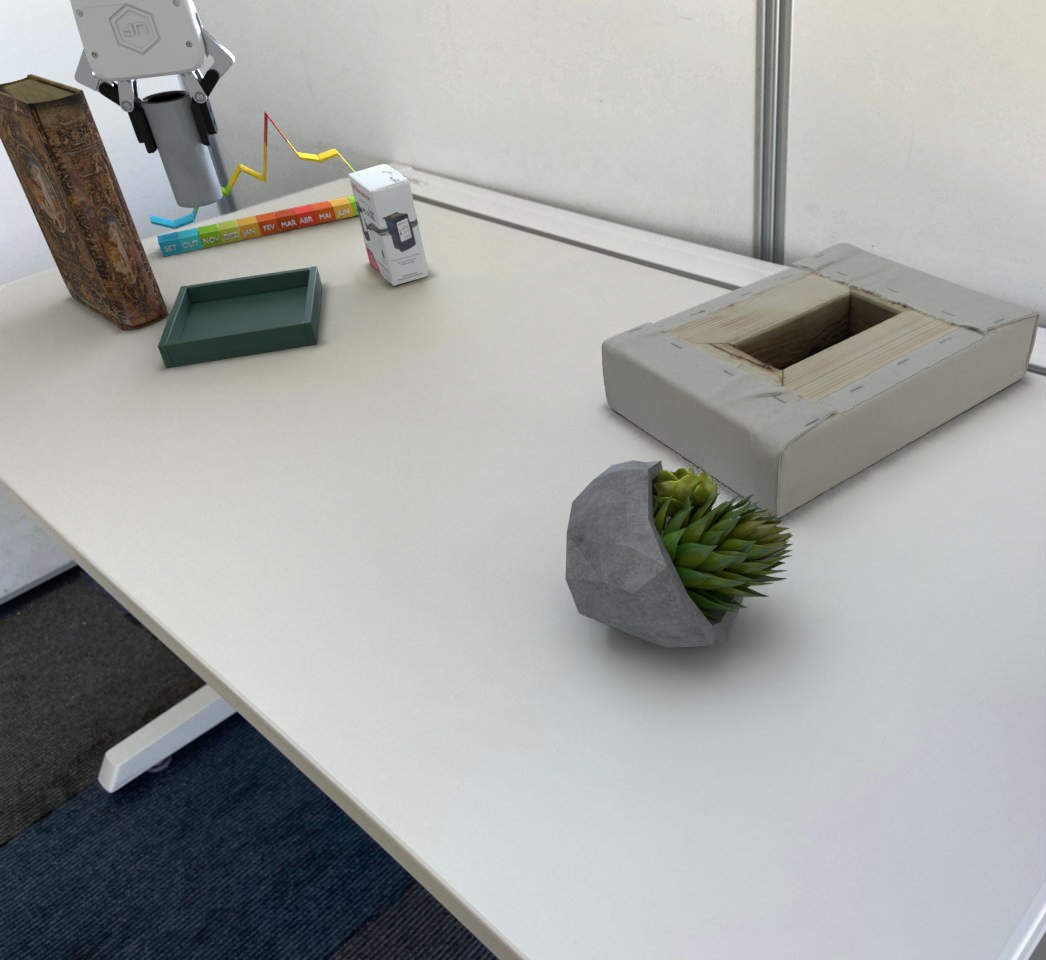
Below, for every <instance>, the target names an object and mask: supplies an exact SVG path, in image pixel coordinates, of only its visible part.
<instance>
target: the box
mask: <svg viewBox="0 0 1046 960" xmlns="http://www.w3.org/2000/svg"><path fill="white" fill-rule="evenodd" d="M1040 317H1041V315H1040V313H1039V312H1038V311H1037V310H1035V309H1032V308H1030V307H1027V306H1022V305H1018V304H1017V303H1013V302H1008V301H1005V300H1002V299H1000V298H997V297H995V296H991V295H988V294H986V293H983V292H980V291H977V290H974V289H972V288H968V287H966V286H963V285H961V284H957V283H955V282H952V281H949V280H947V279H944V278H941V277H938V276H935V275H933V274H930V273H927V272H924V271H921V270H919V269H917V268H914V267H911V266H908V265H905V264H903V263H901V262H900V263H899V262H897V261H894V260H892V259H889V258H886V257H883V256H881V255H877V254H874V253H872V252H870V251H866V250H864V249H863V248H861V247H857V246H855V245H853V244H850V243H848V242H839V243H836V244H833V245H831V246H829V247H826V248H824V249H822V250H821V251H818V252H816V253H814V254H813V255H810V256H808V257H805V258H802V259H798V260H795V261H794V262H792V263H791V265H790V267H788V268H785V269H783V270H781V271H778V272H776V273H774V274H771V275H768V276H766V277H764V278H761V279H759V280H755V281H754V282H751V283H749V284H747V285H744V286H742V287H739V288H736V289H734V290H732V291H729V292H727V293H724V294H722V295H719V296H717V297H714V298H712V299H709V300H706V301H705V302H702V303H699V304H697V305H694V306H692V307H690V308H687V309H685V310H682V311H679V312H678V313H675V314H672V315H669V316H668V317H664V318H663V319H660V320H658V321H655V322H650V321H648V322H645V323H642V324H640V325H637V326H635V327H632V328H630V329H628V330H625V331H623V332H620V333H617V334H616V335H613V336H611V337H608V338H606V339H604V341H603V342H602V343H601V365H602V367H601V368H602V377H603V385H604V392H605V398H606V402H607V405H608V406H609V407H610V408H611V410H613V411H615V412H616V413H618V414H619V415H620V416H622V417H623V418H625V419H626V420H628V421H629V422H631V423H633V424H634V425H636V426H637V427H638V428H640V429H641V430H643V431H644V432H646V433H647V434H649V436H652V437H653V438H654V439H656V440H658V441H659V442H661V443H662V444H663V445H665V446H666V447H668V448H670V449H671V450H673V451H674V452H676V453H677V454H679V455H680V456H681V457H683V458H684V459H686V460H688V461H689V462H691V464H693V465H695V466H696V467H698V468H699V469H701V470H703V472H706V473H708V474H710V475H711V477H712V478H714V479H716V481H719V482H720V483H721V484H723V485H724V486H726V487H728V488H729V489H730V490H732V491H734V492H735V493H736V494H738V495H740V497H742V498H745V497H747V496H750V495H752V494H754V495H753V496H752V497H751V498H750V499H749V501H748V502H749V503H751V502H752V503H754V502H758V501H761V502H759V503H757V504H755V505H754V506H756V507H759V508H758V509H760V510H765V509H769V510H767V511H766V512H768V511H774V510H777V511H775V512H773V513H770V514H769V516H776V517H775V518H774V519H780V518H782V517H784V516H786V515H787V514H789V513H790V512H792V511H794V510H796V509H798V508H799V507H802V505H805V504H806V503H808V502H809V501H811V500H813V499H815V498H816V497H818V496H820V495H821V494H823V493H825V492H827V491H829V490H830V489H832V488H834V487H836V486H837V485H839V484H840V483H842V482H844V481H846V480H848V479H849V478H852V477H853V476H854V475H856V474H858V473H860V472H861V471H863V470H865V469H867V468H868V467H870V466H872V465H874V464H876V463H878V462H879V461H881V460H882V459H884V458H886V457H887V456H889V455H892V454H893V453H895V452H897V451H898V450H900V449H902V448H904V447H905V446H907V445H909V444H911V442H914V441H916V440H917V439H919V438H921V437H922V436H924V435H926V434H927V433H929V432H931V431H933V430H935V429H936V428H938V427H940V426H942V425H943V424H945V423H947V422H949V421H950V420H952V419H954V418H955V417H957V416H959V415H960V414H963V413H964V412H966V411H967V410H969V409H971V408H972V407H974V406H977V405H978V404H980V403H982V402H983V401H985V400H987V399H989V398H990V397H992V396H994V395H995V394H997V393H999V392H1001V391H1002V390H1004V389H1005V388H1008V387H1009V386H1011V385H1012V384H1014V383H1017V382H1018V381H1020V380H1021V379H1023V378H1024V377H1025V375H1026V374H1027V371H1028V368H1029V364H1030V360H1031V357H1032V354H1033V350H1034V347H1035V344H1036V340H1037V339H1036V338H1037V334H1038V329H1039V328H1038V327H1039V323H1040ZM1020 372H1021V373H1020ZM1017 374H1018V375H1017ZM1015 375H1016V376H1015ZM752 503H751V504H752Z"/></svg>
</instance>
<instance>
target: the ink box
mask: <svg viewBox="0 0 1046 960" xmlns="http://www.w3.org/2000/svg"><path fill="white" fill-rule="evenodd" d="M347 175H348V178H349V182H350V186H351V190H352V195H354V199H355V203H356V207H357V212H358V215H357V216H358V220H359V224H360V228H361V232H362V237H363V241H364V244H365V250H366V253H367V257H368V262H369V266H371V267H372V268H373V269H374V270H375V271H376V272H377V273H379V274H380V275H381V276H382V277H383V278H384V279H385V280H386V281H387V282H388V283H390V285H391V286H393V287H396V286H398V285H402V284H405V283H409V282H412V281H415V280H419V279H422V278H426V277H428V276H429V275H430V272H429V268H428V267H429V266H428V262H427V259H426V258H427V257H426V254H425V249H424V245H423V240H422V235H421V229H420V225H419V221H418V217H417V212H416V206H415V202H414V197H413V193H412V188H411V183H410V180H408V177H406V176H404V175H403V174H402V173H400V172H399V171H398V170H396V169H394V168H392V167H391V166H390V165H388V164H387V163H386V164H385V163H382V164H378V165H374V166H371V167H367V168H364V169H360V170H357V171H355V172H350V173H348V174H347Z"/></svg>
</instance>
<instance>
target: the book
mask: <svg viewBox="0 0 1046 960" xmlns="http://www.w3.org/2000/svg"><path fill="white" fill-rule="evenodd" d="M0 141H1V143H2V145H3V148H4V150H5V153H6V155H7V157H8V159H9V162H10V164H11V166H12V168H13V170H14V173H15V175H16V177H17V180H18V181H19V184H20V186H21V189H22V191H23V193H24V195H25V198H26V199H27V202H28V204H29V206H30V209H31V211H32V213H33V216H34V218H35V220H36V222H37V224H38V226H39V229H40V231H41V234H42V236H43V238H44V240H45V242H46V245H47V247H48V249H49V251H50V254H51V256H52V258H53V261H54V263H55V265H56V267H57V269H58V271H59V275H60V277H61V278H62V281H63V283H64V285H65V287H66V289H67V291H68V293H69V294H70V296H71V297H72V299H74V300H76V301H77V302H78V303H80V304H81V305H83V306H84V307H85V308H88V309H89V310H91V311H92V312H94V313H95V314H96V315H98V316H100V317H101V318H103V319H104V320H106V321H108V322H110V323H111V324H112V325H114V326H115V327H117V328H119V329H120V330H122V331H132V330H133V331H134V330H138V329H141V328H145V327H148V326H150V325H153V324H155V323H158V322H160V321H161V320H163V319H164V318H166V317H167V316H168V315H169V309H168V308H167V305H166V302H165V300H164V297H163V294H162V292H161V290H160V287H159V284H158V281H157V279H156V276H155V273H154V271H153V269H152V266H151V264H150V261H149V258H148V255H147V253H146V251H145V248H144V246H143V245H144V244H142V240H141V237H140V235H139V233H138V230H137V227H136V225H135V221H134V220H133V217H132V214H131V212H130V209H129V206H128V204H127V201H126V198H125V196H124V194H123V191H122V188H121V186H120V184H119V179H118V178H117V176H116V172H115V170H114V168H113V165H112V162H111V159H110V158H109V155H108V152H107V149H106V146H105V144H104V141H103V139H102V137H101V134H100V131H99V129H98V126H97V123H96V121H95V119H94V116H93V114H92V111H91V108H90V106H89V103H88V100H87V97H86V94H85V93H84V90H83V89H80V88H77V87H74V86H70V85H67V84H64V83H61V82H58V81H55V80H52V79H48V78H45V77H42V76H39V75H35V74H33V73H29V74H27V75H26V77H23V78H21V79H18V80H14V81H10V82H5V83H0Z"/></svg>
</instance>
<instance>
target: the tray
mask: <svg viewBox="0 0 1046 960" xmlns="http://www.w3.org/2000/svg"><path fill="white" fill-rule="evenodd" d="M322 293H323V283H322V280H321V276H320V271H319V269H318V266H317V265H315V266H309V267H302V268H296V269H289V270H282V271H276V272H269V273H262V274H256V275H249V276H242V277H236V278H234V277H233V278H227V279H222V280H214V281H208V282H202V283H194V284H189V285H181V286H180V287H179V289H178V292H177V295H176V298H175V299H174V300H175V301H174V303H173V305H172V308H171V311H170V313H169V316H168V317H167V321H166V323H165V326H164V328H163V331H162V334H161V337H160V339H159V342H158V344H157V348H158V351H159V354H160V357H161V359H162V361H163V363H164V366H165V368H166V369H168V368H174V367H180V366H187V365H188V366H189V365H193V364H199V363H205V362H213V361H218V360H224V359H231V358H238V357H244V356H249V355H256V354H257V355H258V354H262V353H268V352H269V353H270V352H275V351H281V350H287V349H294V348H301V347H305V346H313V345H317V343H318V336H319V335H318V334H319V325H320V314H321V304H322Z"/></svg>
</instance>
